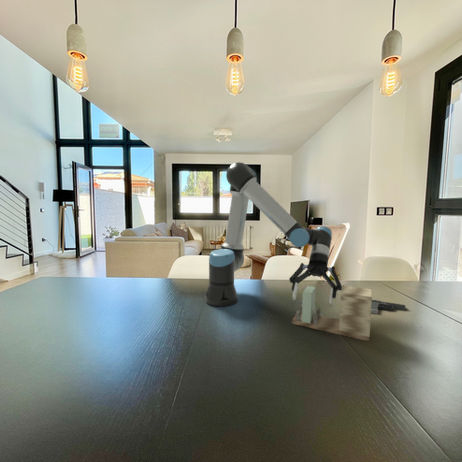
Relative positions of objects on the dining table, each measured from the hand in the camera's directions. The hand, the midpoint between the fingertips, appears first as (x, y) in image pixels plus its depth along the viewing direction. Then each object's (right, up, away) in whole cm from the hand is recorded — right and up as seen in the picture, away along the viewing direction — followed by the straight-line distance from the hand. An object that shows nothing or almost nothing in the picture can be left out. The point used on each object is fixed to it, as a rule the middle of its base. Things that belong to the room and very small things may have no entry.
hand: (311, 301), depth 92 cm
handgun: (+35, -7, +11) cm, 38 cm away
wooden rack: (+5, -8, -5) cm, 10 cm away
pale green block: (-2, -6, -2) cm, 6 cm away
